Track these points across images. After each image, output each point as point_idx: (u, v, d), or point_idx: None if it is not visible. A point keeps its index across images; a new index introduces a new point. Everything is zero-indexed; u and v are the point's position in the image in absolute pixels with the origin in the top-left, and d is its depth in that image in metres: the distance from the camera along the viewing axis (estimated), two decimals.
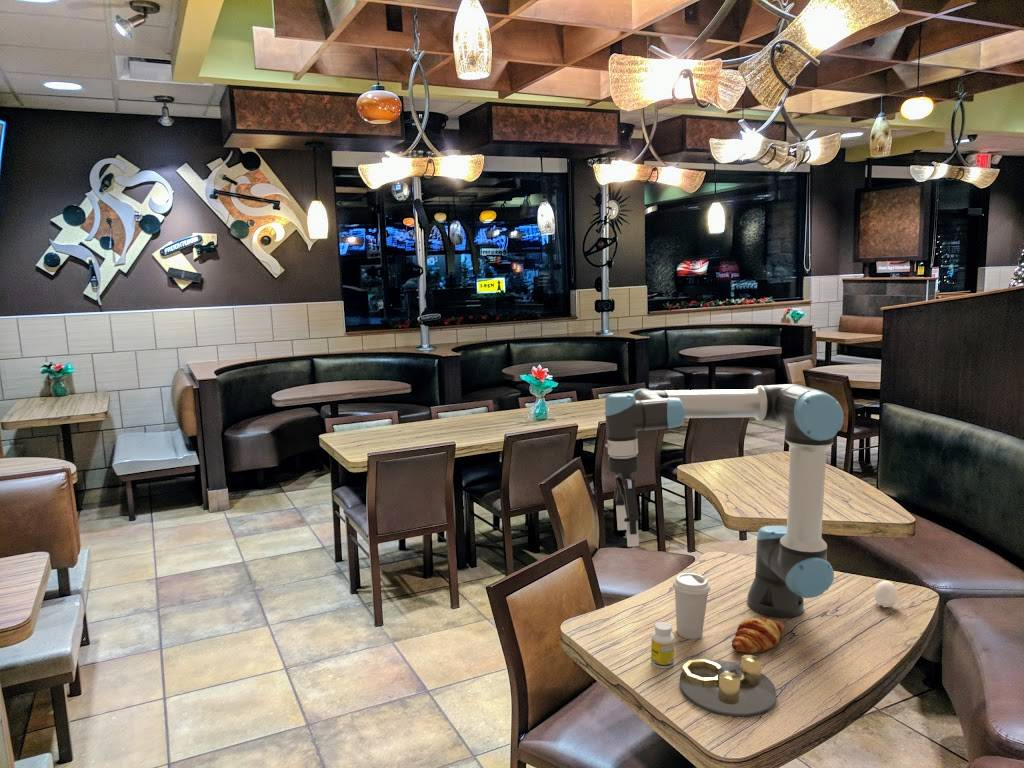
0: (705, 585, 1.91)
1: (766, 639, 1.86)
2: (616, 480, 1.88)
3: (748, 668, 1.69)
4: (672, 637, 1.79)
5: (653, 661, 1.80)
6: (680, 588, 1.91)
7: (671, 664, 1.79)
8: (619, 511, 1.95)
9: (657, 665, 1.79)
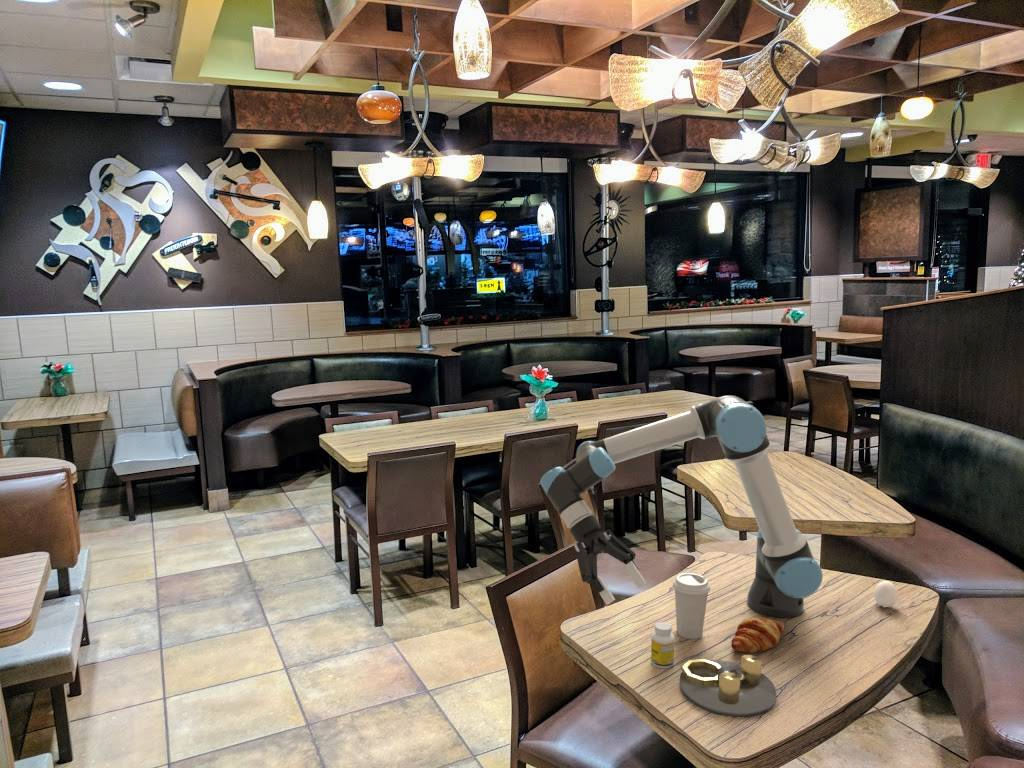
0: (705, 585, 1.91)
1: (766, 639, 1.86)
2: None
3: (748, 668, 1.69)
4: (672, 637, 1.79)
5: (653, 661, 1.80)
6: (680, 588, 1.91)
7: (671, 664, 1.79)
8: (628, 570, 1.93)
9: (657, 665, 1.79)
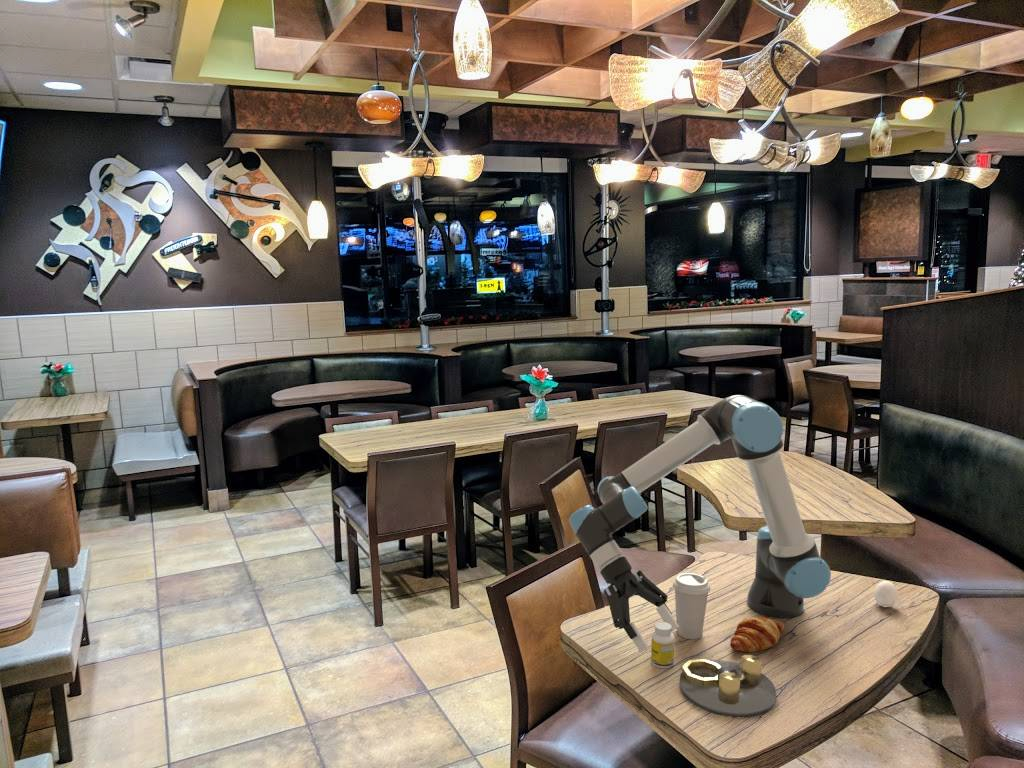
0: (705, 585, 1.91)
1: (765, 638, 1.87)
2: None
3: (748, 668, 1.69)
4: (672, 637, 1.79)
5: (653, 661, 1.80)
6: (680, 588, 1.91)
7: (671, 664, 1.79)
8: (660, 613, 1.87)
9: (657, 665, 1.79)
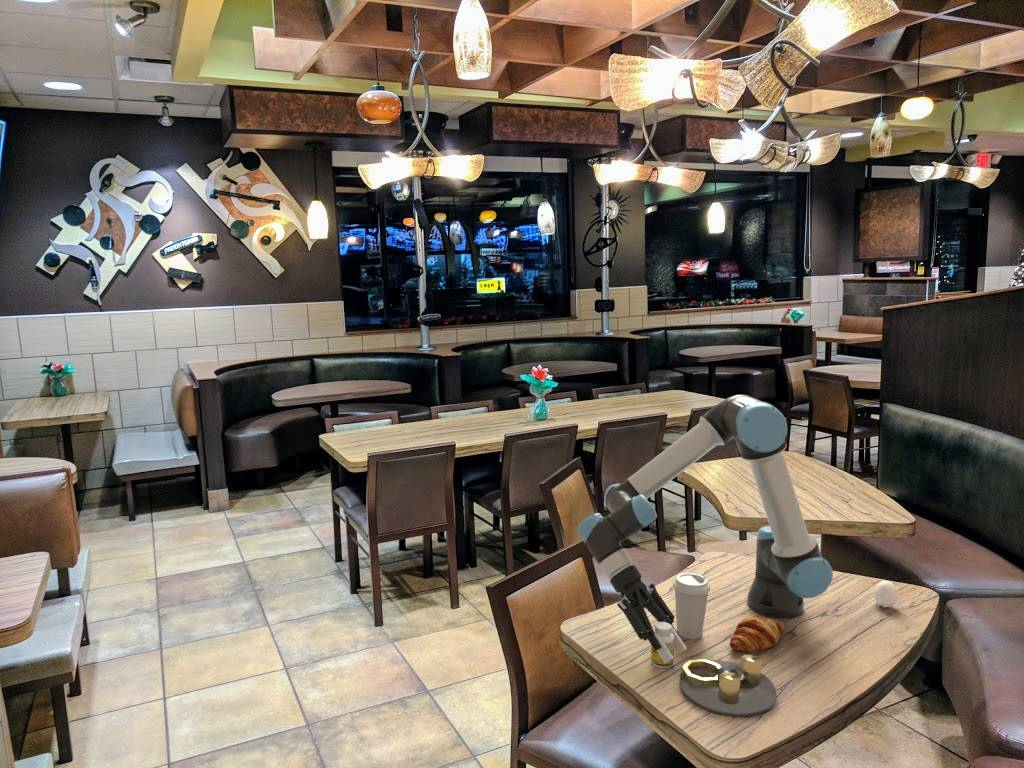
0: (705, 585, 1.91)
1: (764, 638, 1.87)
2: None
3: (748, 668, 1.69)
4: (672, 637, 1.79)
5: (653, 661, 1.80)
6: (680, 588, 1.91)
7: (671, 664, 1.79)
8: None
9: (657, 665, 1.79)
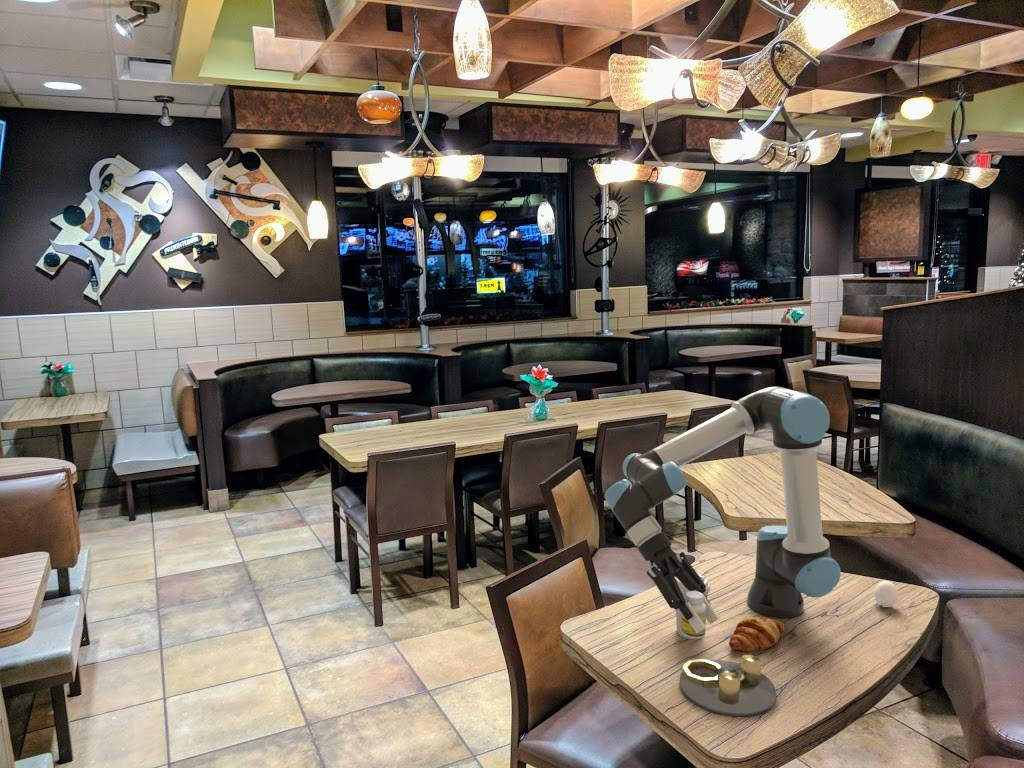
0: None
1: (764, 638, 1.87)
2: None
3: (748, 668, 1.69)
4: (704, 606, 1.71)
5: (684, 631, 1.72)
6: (680, 588, 1.91)
7: (703, 634, 1.72)
8: None
9: (688, 635, 1.72)
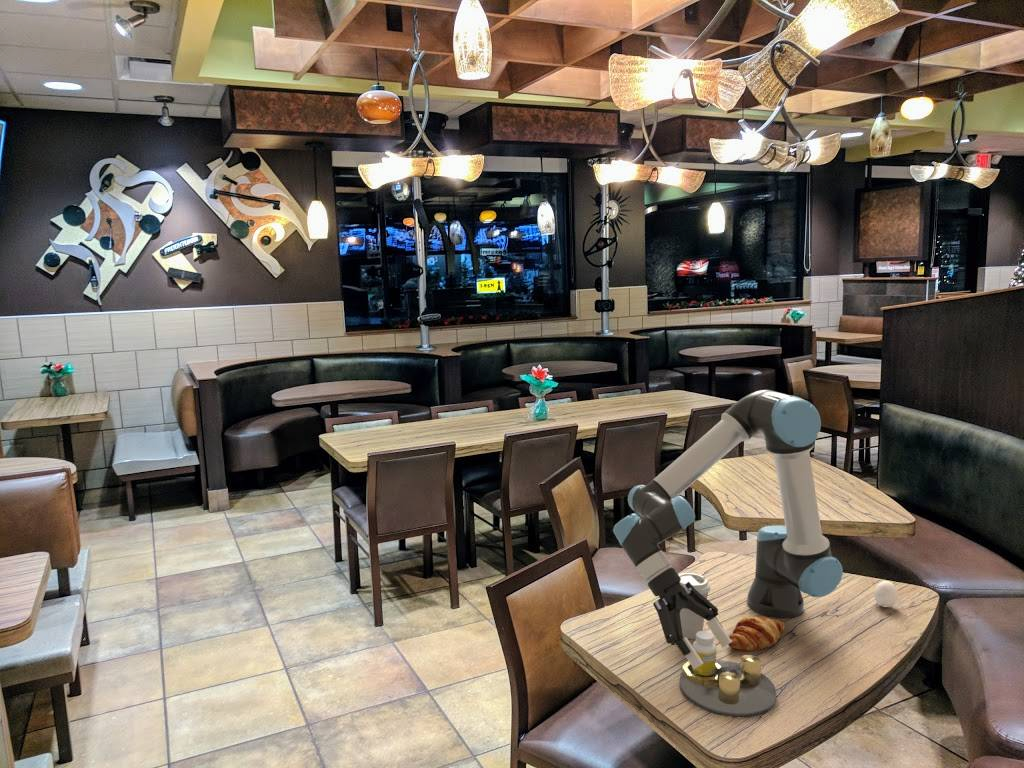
0: (705, 585, 1.91)
1: (763, 637, 1.87)
2: None
3: (748, 668, 1.69)
4: (714, 647, 1.71)
5: (694, 672, 1.72)
6: None
7: (713, 675, 1.72)
8: (711, 627, 1.78)
9: None
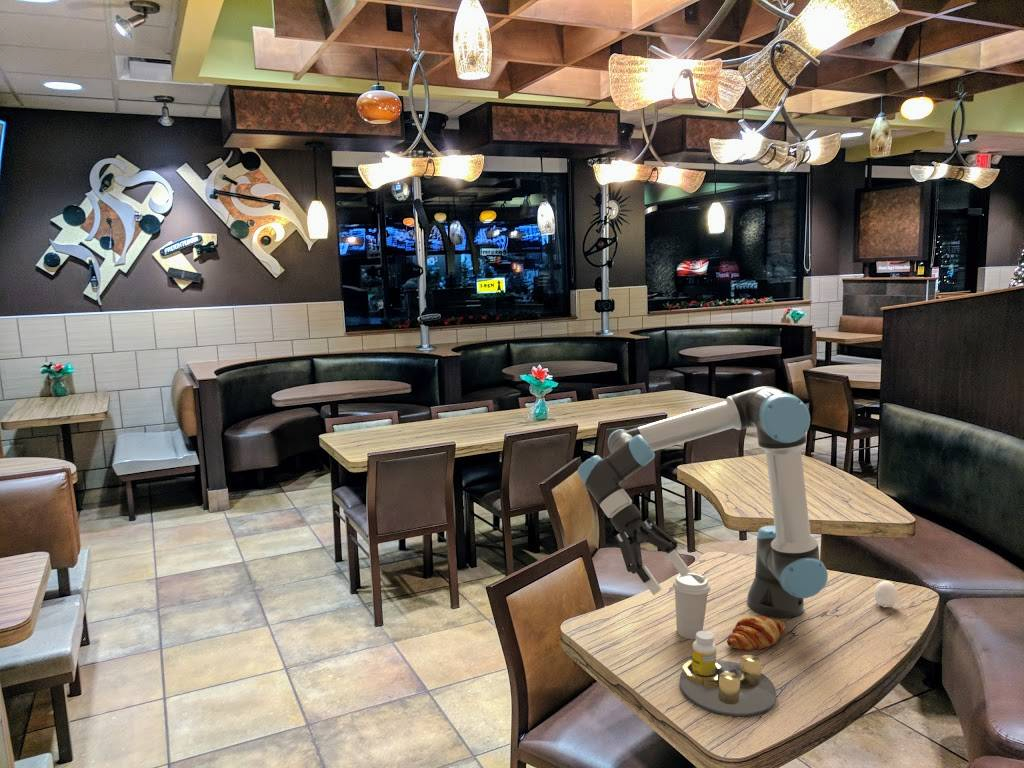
0: (705, 585, 1.91)
1: (762, 637, 1.87)
2: None
3: (748, 668, 1.69)
4: (714, 647, 1.71)
5: (694, 672, 1.72)
6: (680, 588, 1.91)
7: (713, 675, 1.72)
8: (671, 559, 1.88)
9: None
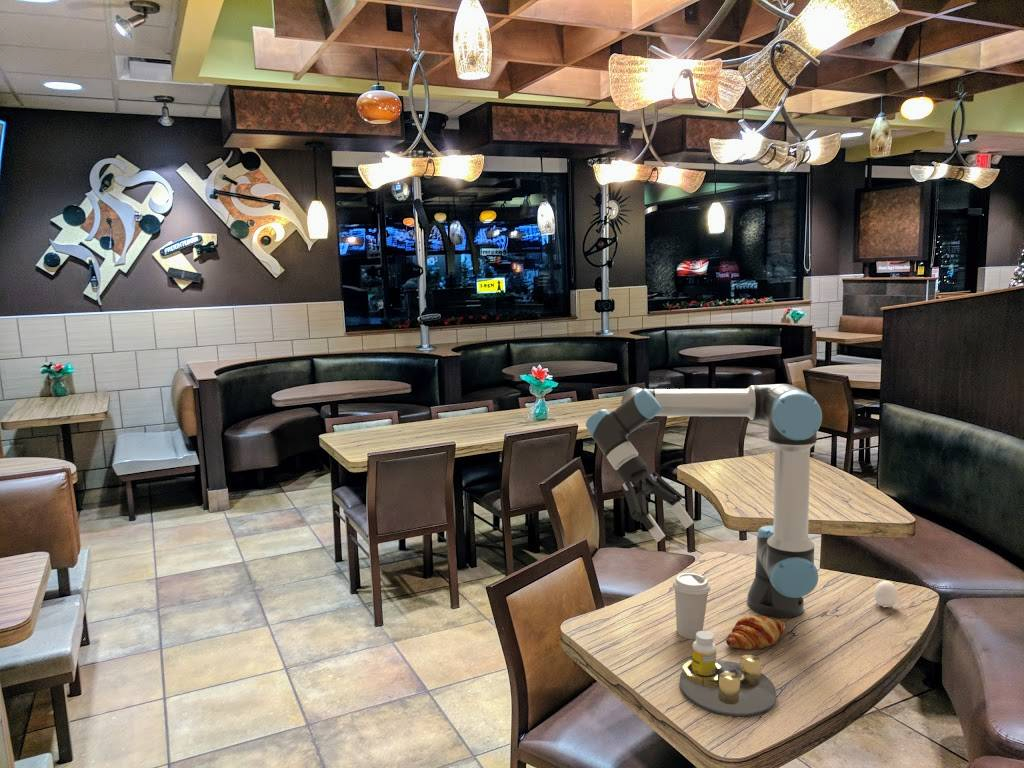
0: (705, 585, 1.91)
1: (761, 637, 1.87)
2: None
3: (748, 668, 1.69)
4: (714, 647, 1.71)
5: (694, 672, 1.72)
6: (680, 588, 1.91)
7: (713, 675, 1.72)
8: (675, 511, 1.93)
9: None
